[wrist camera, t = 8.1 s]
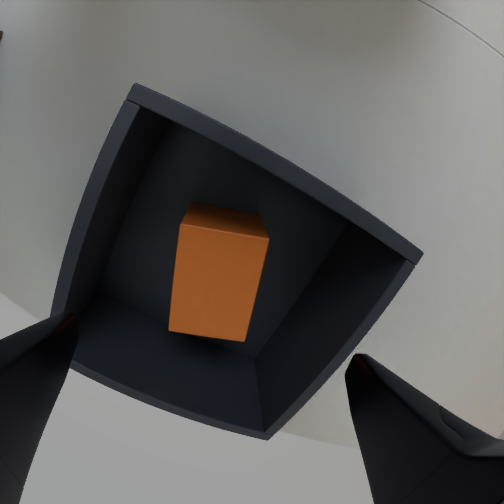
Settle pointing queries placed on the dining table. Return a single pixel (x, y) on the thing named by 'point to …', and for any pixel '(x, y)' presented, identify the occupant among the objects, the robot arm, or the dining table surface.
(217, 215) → the orange block
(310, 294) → the open box
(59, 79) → the dining table surface
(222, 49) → the dining table surface
